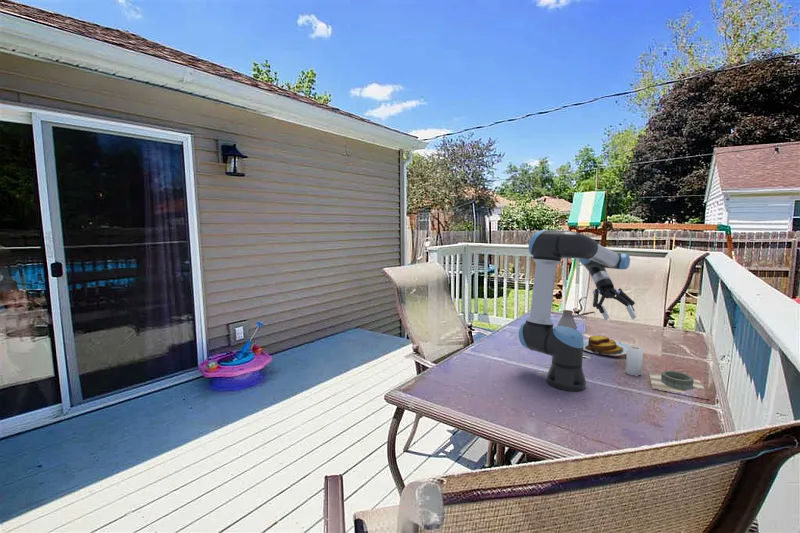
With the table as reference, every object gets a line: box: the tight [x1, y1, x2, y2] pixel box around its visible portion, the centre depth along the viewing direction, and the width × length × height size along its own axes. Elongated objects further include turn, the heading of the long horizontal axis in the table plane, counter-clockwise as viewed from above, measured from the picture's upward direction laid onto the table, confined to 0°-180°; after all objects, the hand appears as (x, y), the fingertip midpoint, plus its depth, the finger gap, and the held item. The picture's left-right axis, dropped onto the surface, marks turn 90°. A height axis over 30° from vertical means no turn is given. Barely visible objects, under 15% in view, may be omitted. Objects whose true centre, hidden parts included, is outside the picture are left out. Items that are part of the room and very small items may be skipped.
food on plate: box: [583, 335, 630, 359], centre depth 195 cm, size 25×25×7 cm
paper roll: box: [625, 345, 644, 376], centre depth 164 cm, size 6×6×12 cm
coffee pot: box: [557, 309, 596, 330], centre depth 226 cm, size 21×12×15 cm, turn 49°
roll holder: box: [648, 370, 705, 393], centre depth 151 cm, size 18×18×4 cm
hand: (620, 318), depth 173 cm, fingers open, 13 cm apart
